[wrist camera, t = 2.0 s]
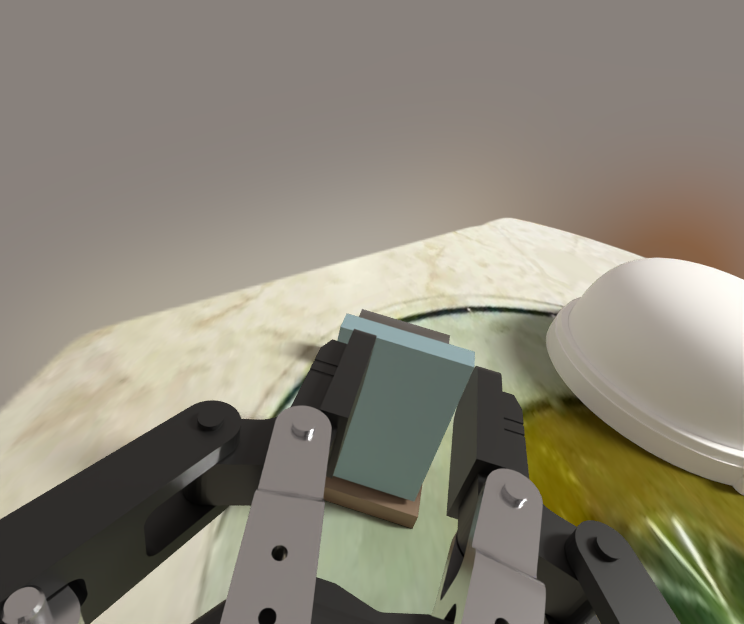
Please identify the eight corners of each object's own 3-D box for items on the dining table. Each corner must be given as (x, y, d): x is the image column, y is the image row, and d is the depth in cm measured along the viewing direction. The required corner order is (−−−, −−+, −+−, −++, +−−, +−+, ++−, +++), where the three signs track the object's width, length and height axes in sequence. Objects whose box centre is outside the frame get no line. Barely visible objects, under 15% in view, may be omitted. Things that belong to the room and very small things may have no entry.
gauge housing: (412, 528, 34) (433, 482, 31) (295, 490, 35) (305, 441, 32) (433, 375, 49) (449, 334, 46) (352, 350, 50) (362, 307, 47)
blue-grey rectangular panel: (414, 501, 34) (474, 367, 27) (308, 467, 34) (340, 326, 27) (421, 453, 38) (475, 325, 31) (326, 424, 38) (357, 289, 31)
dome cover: (882, 522, 46) (1020, 425, 39) (599, 472, 43) (688, 357, 36) (701, 331, 73) (762, 251, 65) (519, 293, 70) (559, 204, 62)
